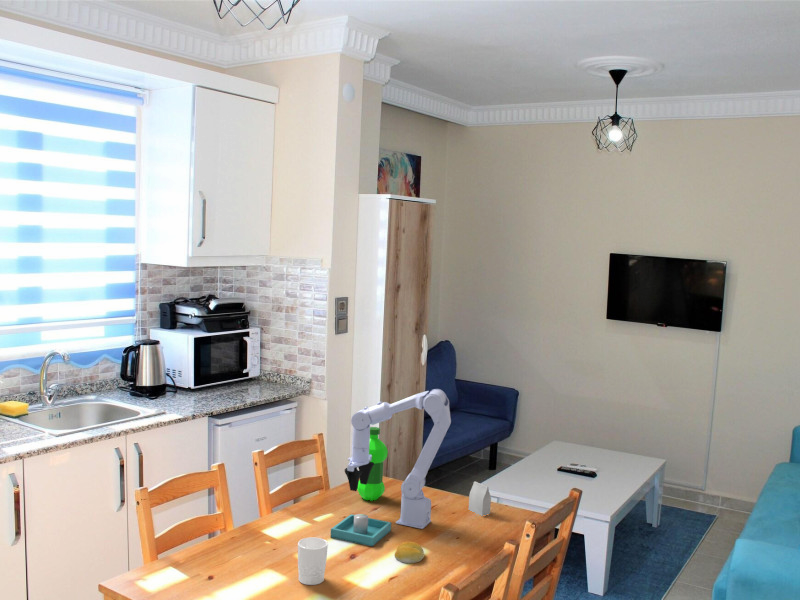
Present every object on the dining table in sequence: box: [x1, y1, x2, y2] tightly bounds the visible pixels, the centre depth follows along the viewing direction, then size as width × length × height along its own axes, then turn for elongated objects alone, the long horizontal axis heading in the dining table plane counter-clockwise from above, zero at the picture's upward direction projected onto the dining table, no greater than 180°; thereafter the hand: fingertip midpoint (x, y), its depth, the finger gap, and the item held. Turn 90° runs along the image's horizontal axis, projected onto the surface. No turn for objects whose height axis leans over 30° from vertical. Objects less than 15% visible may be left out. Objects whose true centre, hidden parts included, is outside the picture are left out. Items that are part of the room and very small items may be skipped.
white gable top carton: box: [468, 481, 492, 517], centre depth 256 cm, size 4×7×10 cm, turn 37°
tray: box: [330, 513, 392, 547], centre depth 233 cm, size 14×14×3 cm
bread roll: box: [394, 541, 425, 564], centre depth 217 cm, size 8×9×4 cm
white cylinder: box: [353, 513, 369, 535], centre depth 233 cm, size 4×4×5 cm
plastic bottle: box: [357, 426, 389, 502], centre depth 264 cm, size 10×10×25 cm
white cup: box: [297, 536, 329, 586], centre depth 200 cm, size 8×8×10 cm
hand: (358, 487), depth 248 cm, fingers open, 7 cm apart
